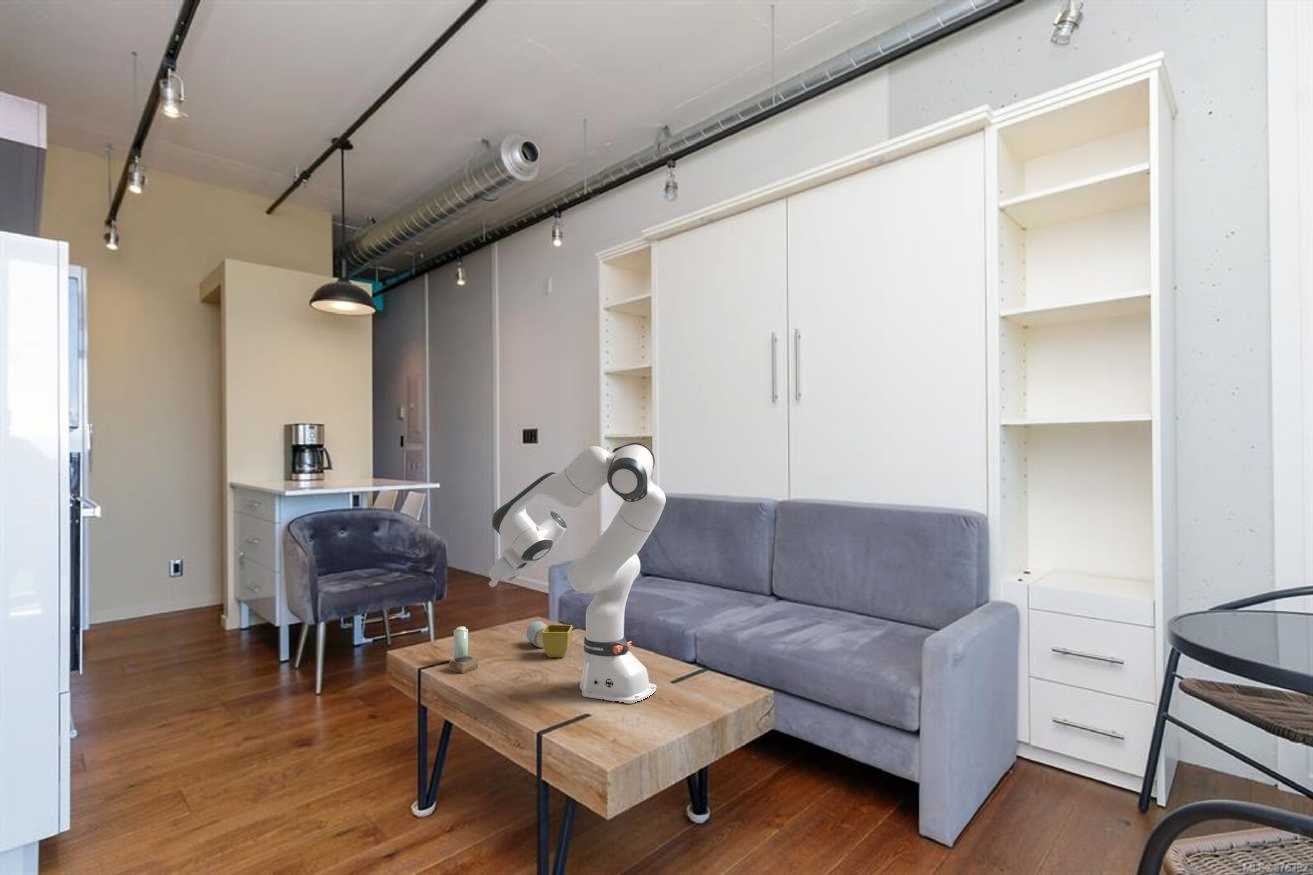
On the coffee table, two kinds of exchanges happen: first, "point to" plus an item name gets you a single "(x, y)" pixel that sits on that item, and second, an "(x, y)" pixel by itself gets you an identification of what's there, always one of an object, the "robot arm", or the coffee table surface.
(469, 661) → the base
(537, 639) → the ceramic mug
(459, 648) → the column
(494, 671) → the coffee table surface
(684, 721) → the coffee table surface
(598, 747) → the coffee table surface
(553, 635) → the flower pot
